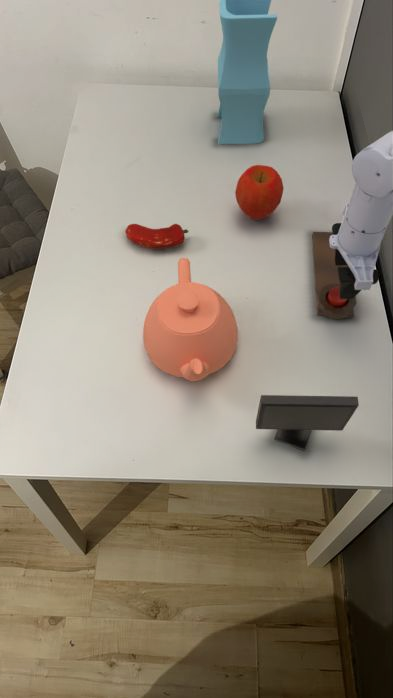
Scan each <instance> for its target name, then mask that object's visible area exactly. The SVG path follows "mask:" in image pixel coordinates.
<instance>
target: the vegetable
mask: <svg viewBox="0 0 393 698" xmlns="http://www.w3.org/2000/svg"><path fill="white" fill-rule="evenodd" d="M124 232H125V236H126V238H127V239H128V240H129V242H131V243H132V244H134V245H136V246H139V247H141V248H146V249H153V250H155V249H156V250H157V249H160V250H161V249H171V248H174V247H177V246H180V245H182V244H184V242H185V239H186V238H185V234H188V233H189V230H188V229H183V228H182V226H181V225H180V224H178V223H172V224H171V225H169V226H168V227H160V228H150V227H147V226H144V225H141V224H138V223H131V224H128V226H127V227H126V228H125V231H124Z"/></svg>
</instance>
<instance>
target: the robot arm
mask: <svg viewBox="0 0 393 698" xmlns="http://www.w3.org/2000/svg"><path fill="white" fill-rule="evenodd" d="M351 173H352V177H353V180H354V183H355V184H354V187H353V189H352V193H351V197H350V199H349V202H348V203H347V202H346V203H345V204H344V208H343V211H342V213H343V214H342V216H343V218H342V221H341V222H336V223H334V224H332V226H331V232H332V233H333V235H331V236H330V238H329V243H330V247H331V248H332V249H335V265H336V266H349V267H338V276H339V281H340V290H339V294H340V299H353V298H354V297H355V296H358V294H360V293H361V292H362V291H370V290H371V288H372V286H373V285H376V284H378V281H379V279H380V276H379V275H380V274H379V270H378V269H377V268H376V269H375V267H376V263H377V260H378V257H379V253H380V250H381V246H382V241H383V238H384V236H385V233H386V232H387V228H388V227H389V224H390V222H391V220H392V218H393V130H391V131H389V132H387V133H385V134H384V135H382V136H381V137H380V138H378V139H377V140H375V141H373V142H372V143H371V144H369V145H368V146H366V147H364V148H363V149H362V150H360V152H358V153H357V154H356V155H355V156H354V158H353V160H352V164H351Z"/></svg>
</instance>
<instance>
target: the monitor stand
mask: <svg viewBox="0 0 393 698" xmlns="http://www.w3.org/2000/svg"><path fill="white" fill-rule="evenodd" d="M311 433H312V430H283V429H276V433H275V436H274V440H275V441H277V442H280V443H282V444H284V445H287V446H290V447H293V448H295V449H298V450H300V451H303V452H304V451H305V450H306V448H307V444H308V442H309V438H310V436H311Z"/></svg>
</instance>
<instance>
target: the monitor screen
mask: <svg viewBox="0 0 393 698" xmlns="http://www.w3.org/2000/svg"><path fill="white" fill-rule="evenodd" d="M359 403H360V402H359V398H358V396H343V395H342V396H340V395H339V396H338V395H282V394H281V395H279V394H277V395H275V394H272V395H271V394H261V395H260V399H259V404H258V409H257V413H256V418H255V429H256V430H278V429H283V430H311V431H338V432H339V431H344V429H345V427H346V426H347V424H348V423H349V421H350V420H351V418H352V417H353V415H354V413H355V412H356V410H357V409H358V407H360V406H359V405H360V404H359Z"/></svg>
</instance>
